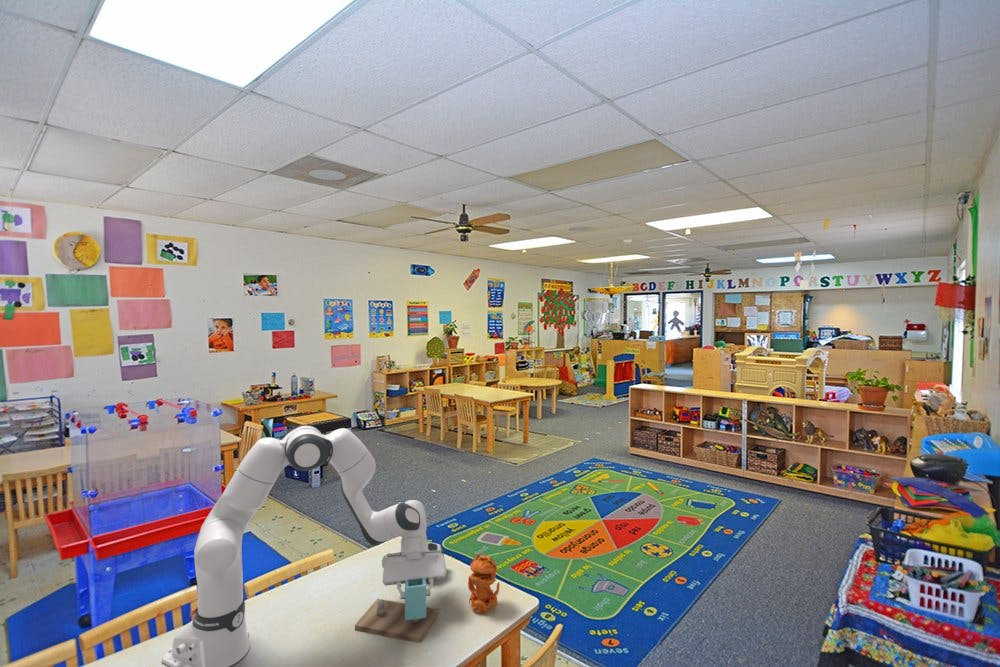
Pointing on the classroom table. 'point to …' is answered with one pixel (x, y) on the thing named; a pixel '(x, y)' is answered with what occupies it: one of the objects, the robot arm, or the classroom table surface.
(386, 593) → the classroom table surface
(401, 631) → the pin plate
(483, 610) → the orange animal figurine
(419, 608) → the sleeve block
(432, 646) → the classroom table surface
